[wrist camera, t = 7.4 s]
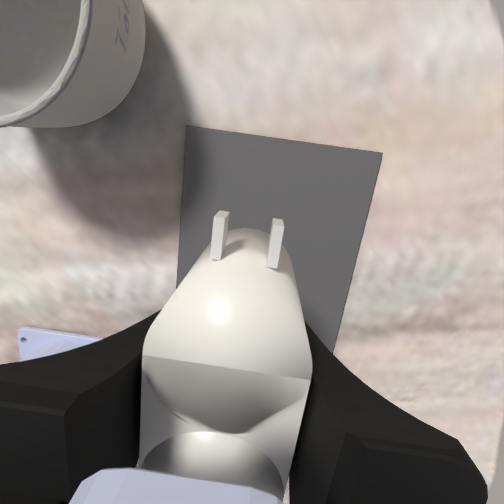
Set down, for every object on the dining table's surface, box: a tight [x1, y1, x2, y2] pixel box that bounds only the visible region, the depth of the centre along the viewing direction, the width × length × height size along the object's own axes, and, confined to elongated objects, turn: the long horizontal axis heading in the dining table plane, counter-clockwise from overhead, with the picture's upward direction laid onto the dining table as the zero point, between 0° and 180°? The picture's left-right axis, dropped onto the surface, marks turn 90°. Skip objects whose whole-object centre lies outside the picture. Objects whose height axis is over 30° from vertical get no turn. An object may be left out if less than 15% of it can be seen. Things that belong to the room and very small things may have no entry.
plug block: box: [139, 211, 312, 502], centre depth 10 cm, size 9×4×6 cm, turn 172°
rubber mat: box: [176, 126, 383, 353], centre depth 21 cm, size 16×12×1 cm
